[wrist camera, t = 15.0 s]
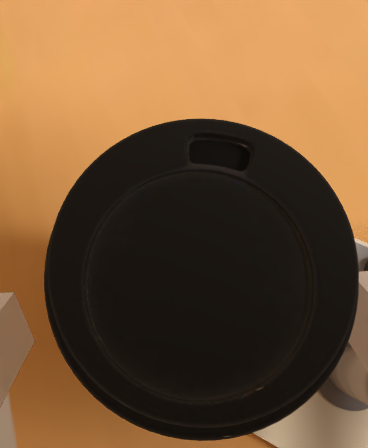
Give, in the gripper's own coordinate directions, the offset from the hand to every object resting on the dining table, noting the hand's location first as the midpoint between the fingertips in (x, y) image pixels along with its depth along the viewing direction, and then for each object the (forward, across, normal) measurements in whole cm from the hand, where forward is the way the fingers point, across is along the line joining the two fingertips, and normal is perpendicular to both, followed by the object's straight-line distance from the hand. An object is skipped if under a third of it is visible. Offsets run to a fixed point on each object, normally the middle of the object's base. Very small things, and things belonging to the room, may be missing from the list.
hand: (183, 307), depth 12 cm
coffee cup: (+8, +1, -6) cm, 10 cm away
